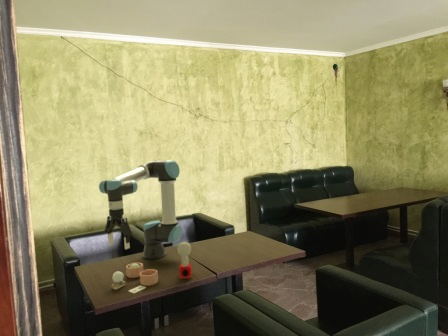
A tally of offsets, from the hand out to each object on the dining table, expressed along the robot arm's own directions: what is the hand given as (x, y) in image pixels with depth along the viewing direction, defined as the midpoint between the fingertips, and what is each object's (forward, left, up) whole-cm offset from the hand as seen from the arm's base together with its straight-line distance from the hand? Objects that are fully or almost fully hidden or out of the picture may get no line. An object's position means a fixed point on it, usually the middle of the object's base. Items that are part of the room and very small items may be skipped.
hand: (119, 246), depth 200 cm
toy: (+21, +28, -22) cm, 42 cm away
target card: (+11, +1, -22) cm, 25 cm away
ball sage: (-7, +14, -19) cm, 25 cm away
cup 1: (-7, +14, -22) cm, 27 cm away
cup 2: (+9, +11, -22) cm, 26 cm away
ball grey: (-1, -2, -17) cm, 17 cm away
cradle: (-1, -2, -22) cm, 22 cm away
